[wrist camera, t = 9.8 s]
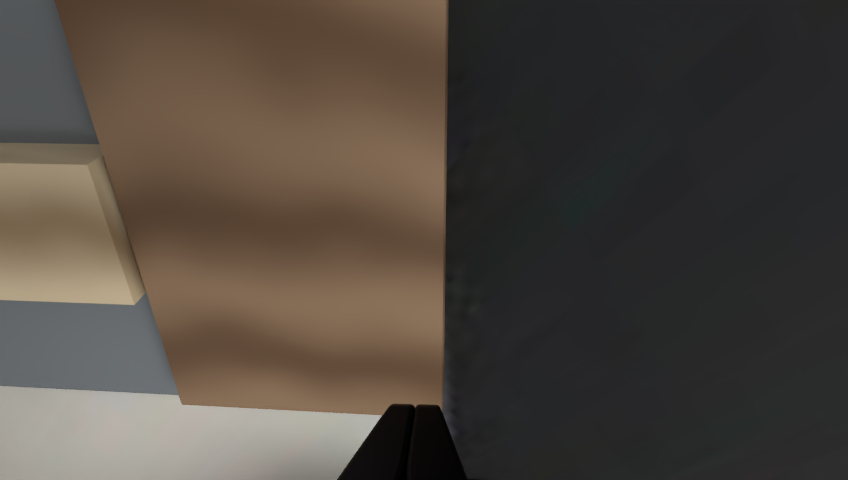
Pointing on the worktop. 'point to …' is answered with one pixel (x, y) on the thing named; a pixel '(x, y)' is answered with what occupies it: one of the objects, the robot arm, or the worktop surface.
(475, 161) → the worktop surface
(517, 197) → the worktop surface
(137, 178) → the walnut board
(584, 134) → the worktop surface
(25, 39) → the slate mat
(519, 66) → the worktop surface
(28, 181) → the birch tile
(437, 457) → the robot arm
